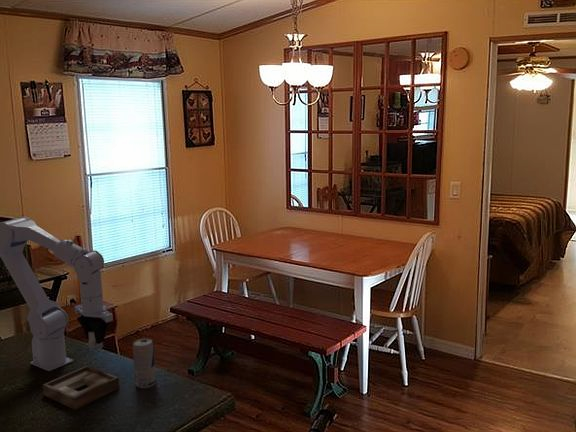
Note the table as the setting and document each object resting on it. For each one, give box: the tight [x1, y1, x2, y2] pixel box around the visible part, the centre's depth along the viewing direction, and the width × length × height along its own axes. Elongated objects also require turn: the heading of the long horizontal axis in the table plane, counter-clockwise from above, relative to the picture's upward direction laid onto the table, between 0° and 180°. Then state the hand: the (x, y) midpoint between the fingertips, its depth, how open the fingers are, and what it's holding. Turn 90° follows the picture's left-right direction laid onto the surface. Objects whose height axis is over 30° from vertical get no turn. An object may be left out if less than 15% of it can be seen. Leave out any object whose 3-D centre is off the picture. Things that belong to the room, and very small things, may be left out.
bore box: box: [42, 365, 120, 411], centre depth 149 cm, size 13×13×3 cm
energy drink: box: [132, 337, 157, 389], centre depth 151 cm, size 5×5×12 cm
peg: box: [88, 329, 104, 351], centre depth 161 cm, size 4×4×5 cm
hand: (95, 341), depth 161 cm, fingers closed on peg, 4 cm apart
